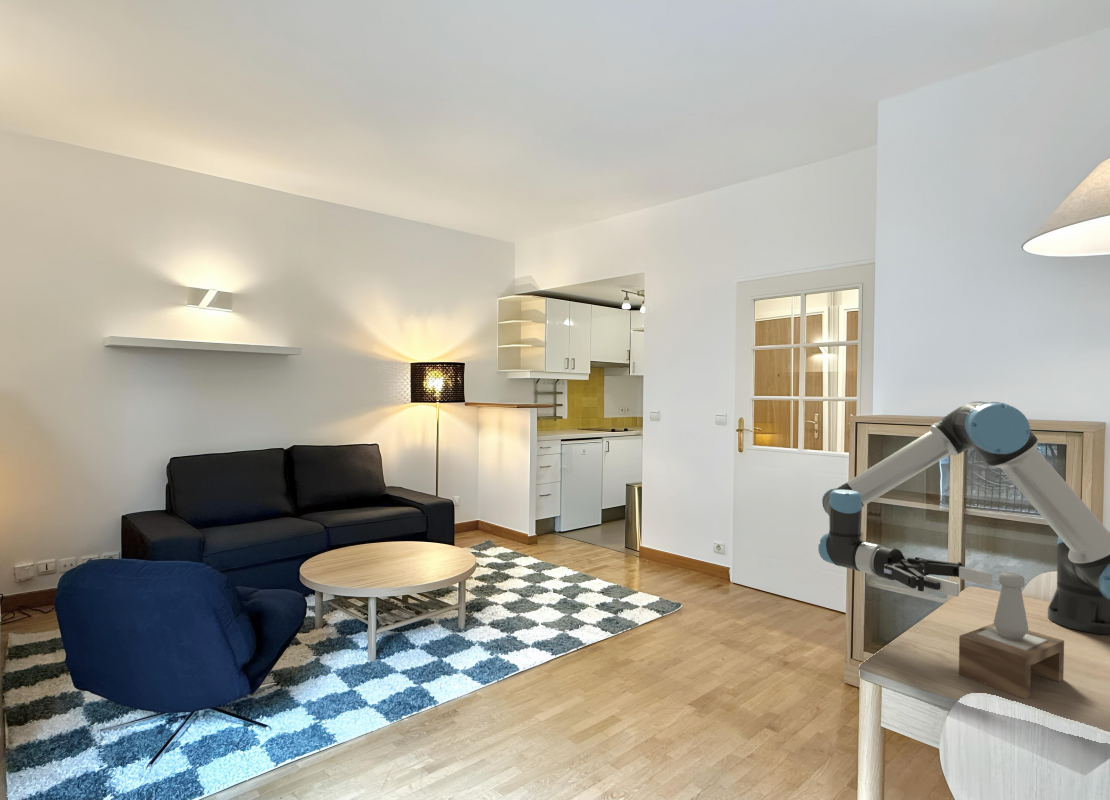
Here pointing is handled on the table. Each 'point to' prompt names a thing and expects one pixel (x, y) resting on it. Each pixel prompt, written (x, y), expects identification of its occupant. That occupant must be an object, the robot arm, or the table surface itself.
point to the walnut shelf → (1009, 659)
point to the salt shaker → (1011, 608)
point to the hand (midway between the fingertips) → (975, 585)
